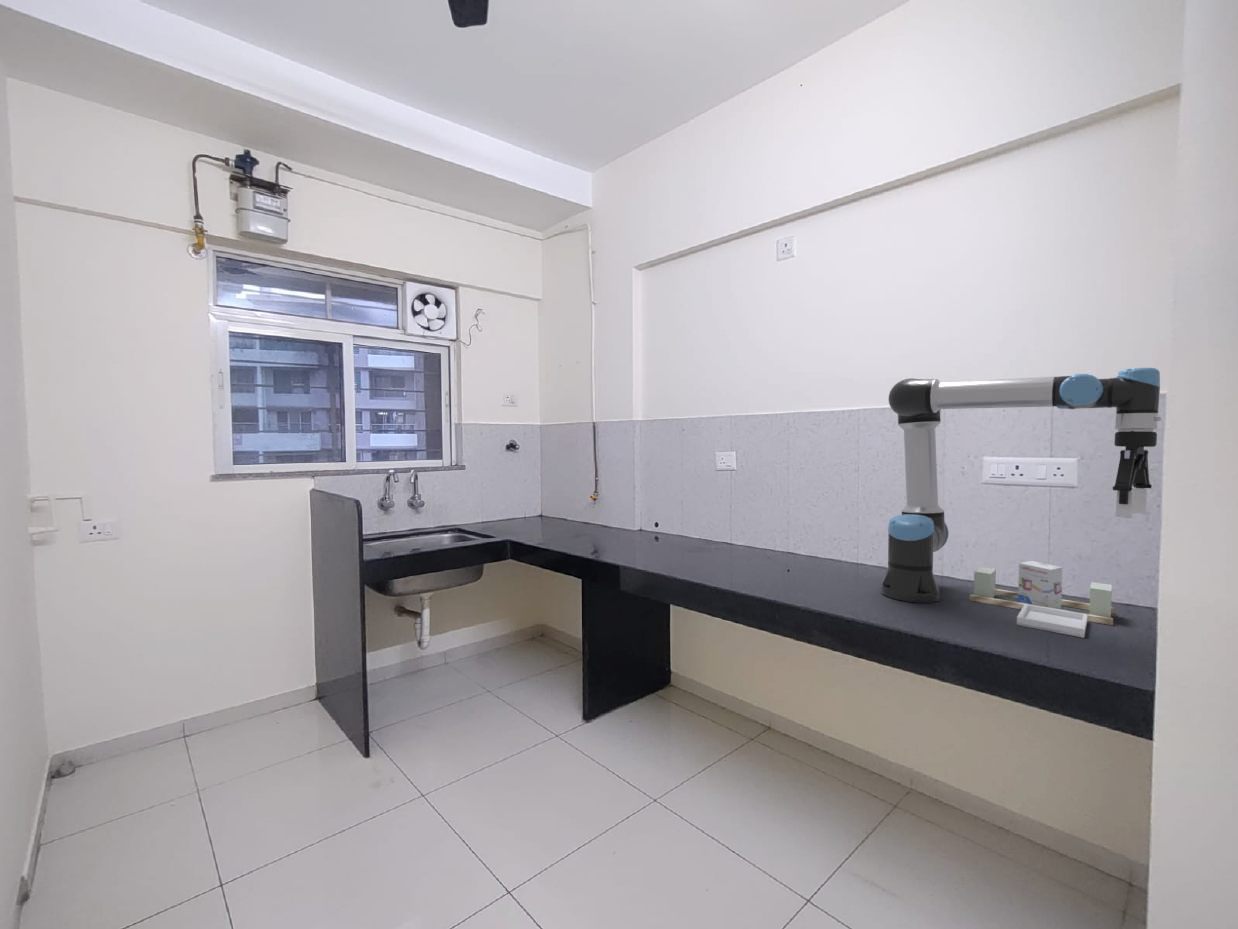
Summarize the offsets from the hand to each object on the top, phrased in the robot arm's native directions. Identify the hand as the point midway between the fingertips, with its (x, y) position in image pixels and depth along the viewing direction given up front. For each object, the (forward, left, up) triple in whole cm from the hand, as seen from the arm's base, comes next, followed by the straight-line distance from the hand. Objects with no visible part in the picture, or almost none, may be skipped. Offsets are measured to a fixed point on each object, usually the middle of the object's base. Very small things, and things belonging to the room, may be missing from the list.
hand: (1131, 515), depth 132 cm
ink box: (-18, 0, -27) cm, 32 cm away
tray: (-13, -15, -27) cm, 34 cm away
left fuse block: (-30, 0, -27) cm, 40 cm away
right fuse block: (-5, 0, -27) cm, 27 cm away
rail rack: (-18, 0, -27) cm, 32 cm away
